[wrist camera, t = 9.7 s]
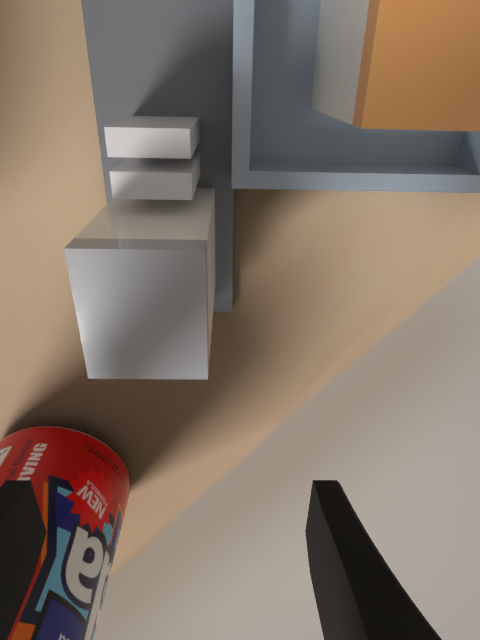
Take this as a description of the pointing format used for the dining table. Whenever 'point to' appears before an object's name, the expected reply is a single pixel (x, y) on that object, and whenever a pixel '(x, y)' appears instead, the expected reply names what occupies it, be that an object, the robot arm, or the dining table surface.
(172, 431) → the dining table surface
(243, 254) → the dining table surface
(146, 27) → the board
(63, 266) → the dining table surface
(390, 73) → the block
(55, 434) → the soda can
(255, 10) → the tray
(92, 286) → the block
